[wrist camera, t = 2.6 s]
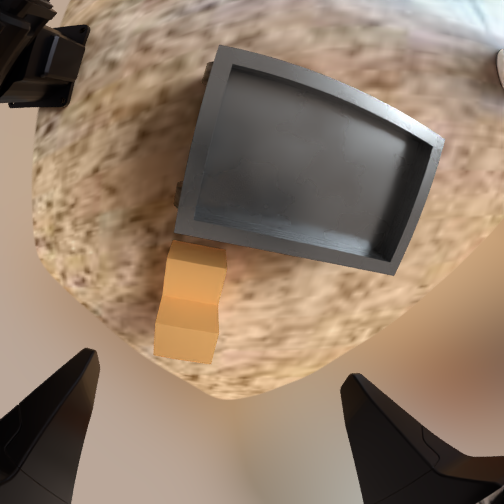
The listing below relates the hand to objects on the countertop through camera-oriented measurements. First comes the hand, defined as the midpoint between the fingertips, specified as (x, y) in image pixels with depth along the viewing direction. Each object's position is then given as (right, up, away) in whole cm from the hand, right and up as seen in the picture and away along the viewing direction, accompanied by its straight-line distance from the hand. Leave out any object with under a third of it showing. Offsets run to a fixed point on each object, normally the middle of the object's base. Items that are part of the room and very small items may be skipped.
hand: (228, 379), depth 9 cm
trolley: (+4, +11, +10) cm, 15 cm away
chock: (-4, +2, +13) cm, 14 cm away
